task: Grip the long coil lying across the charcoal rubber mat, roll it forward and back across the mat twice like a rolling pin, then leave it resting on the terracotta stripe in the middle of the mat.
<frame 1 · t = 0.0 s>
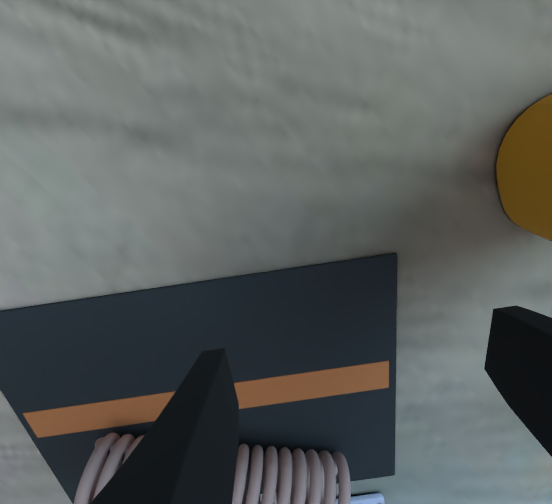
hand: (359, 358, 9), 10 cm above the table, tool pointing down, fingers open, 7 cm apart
coil: (223, 446, 24), resting on mat
mat: (212, 407, 23), on the table
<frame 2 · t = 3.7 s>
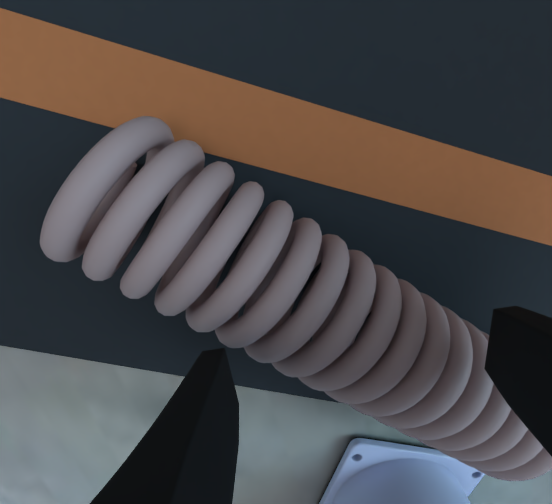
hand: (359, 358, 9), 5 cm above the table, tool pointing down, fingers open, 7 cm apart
coil: (328, 283, 13), resting on mat, touching gripper
mat: (362, 188, 12), on the table
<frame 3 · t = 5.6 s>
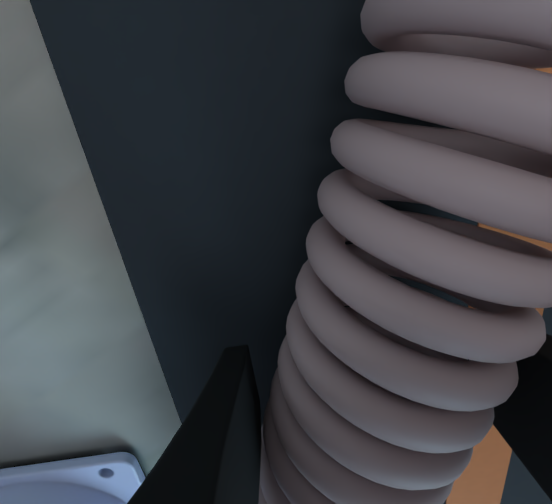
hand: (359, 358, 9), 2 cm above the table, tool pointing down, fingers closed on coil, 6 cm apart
coil: (344, 323, 10), resting on mat, touching gripper
mat: (470, 304, 10), on the table
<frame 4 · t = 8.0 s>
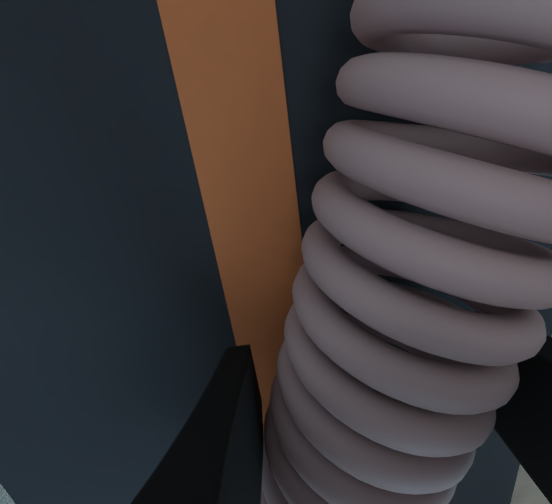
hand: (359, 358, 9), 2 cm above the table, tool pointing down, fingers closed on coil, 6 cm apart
coil: (344, 325, 10), resting on mat, touching gripper
mat: (242, 338, 10), on the table
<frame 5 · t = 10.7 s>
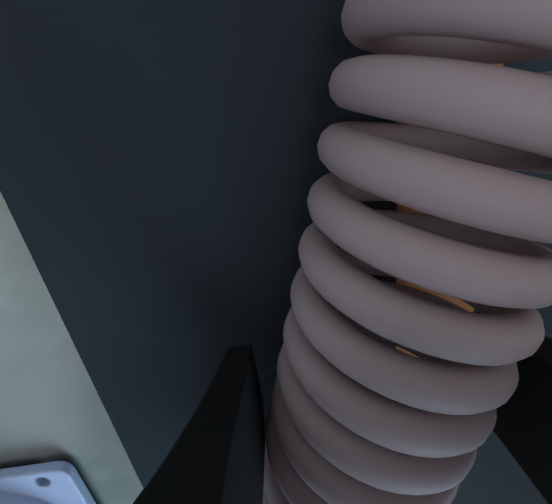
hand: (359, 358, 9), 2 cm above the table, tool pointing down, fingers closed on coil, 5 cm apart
coil: (345, 325, 10), resting on mat, touching gripper
mat: (399, 315, 10), on the table
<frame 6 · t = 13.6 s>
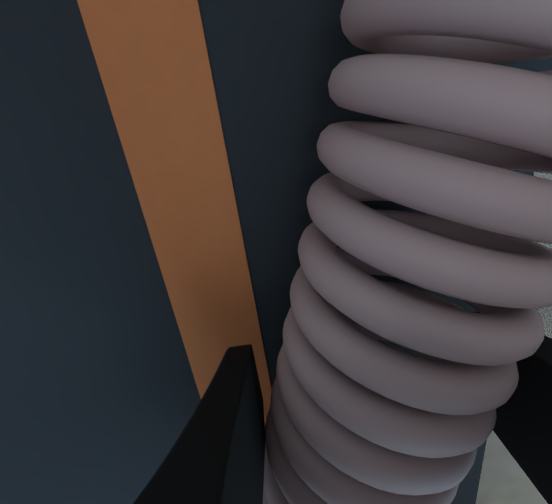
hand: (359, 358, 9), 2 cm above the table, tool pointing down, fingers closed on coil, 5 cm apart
coil: (344, 325, 10), resting on mat, touching gripper
mat: (193, 345, 10), on the table
when the fingers open (2 cm above the table, at t = 15.9 s): coil stays where it is, resting on mat.
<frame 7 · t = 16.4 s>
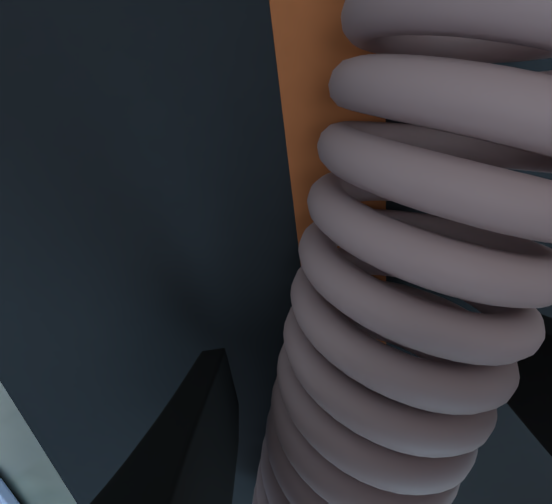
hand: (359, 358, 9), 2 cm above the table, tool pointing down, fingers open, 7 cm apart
coil: (345, 325, 10), resting on mat
mat: (314, 328, 10), on the table
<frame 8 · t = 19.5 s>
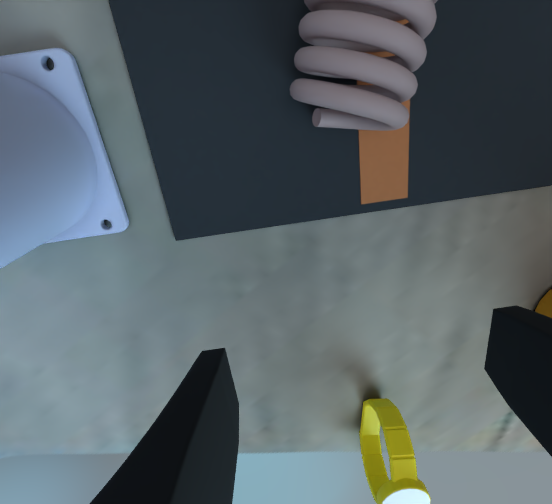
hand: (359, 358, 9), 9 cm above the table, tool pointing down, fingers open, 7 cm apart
watch: (369, 412, 23), on the table
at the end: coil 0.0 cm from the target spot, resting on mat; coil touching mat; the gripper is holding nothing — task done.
